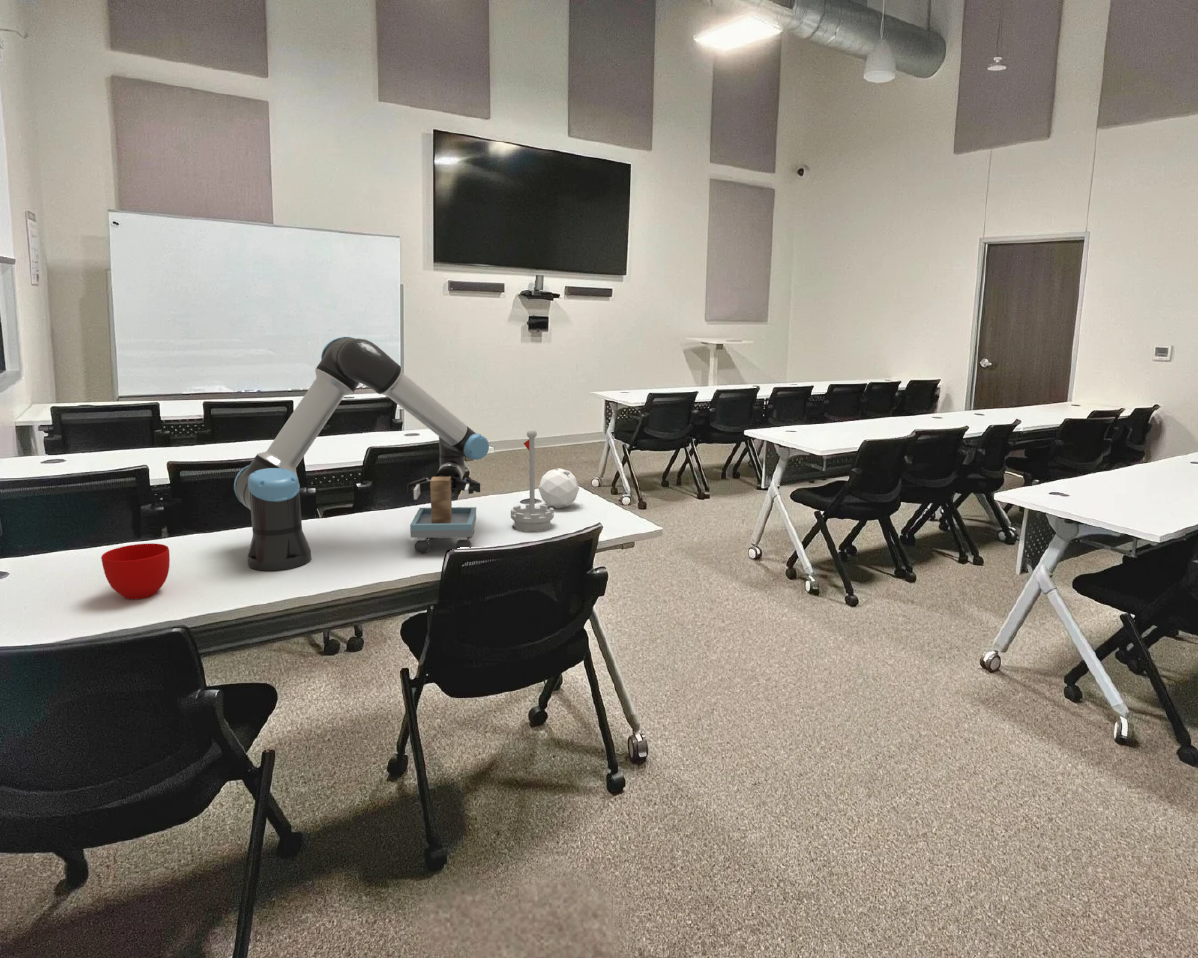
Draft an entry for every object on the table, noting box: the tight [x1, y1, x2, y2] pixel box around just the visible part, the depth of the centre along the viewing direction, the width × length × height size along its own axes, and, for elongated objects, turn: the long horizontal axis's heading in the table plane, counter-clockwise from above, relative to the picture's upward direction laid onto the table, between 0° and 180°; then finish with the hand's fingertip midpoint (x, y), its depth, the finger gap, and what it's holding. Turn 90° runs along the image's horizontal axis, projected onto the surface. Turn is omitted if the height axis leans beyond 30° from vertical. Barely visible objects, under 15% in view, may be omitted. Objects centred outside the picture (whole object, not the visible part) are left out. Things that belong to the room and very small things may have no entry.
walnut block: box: [429, 476, 453, 524], centre depth 205 cm, size 5×5×12 cm
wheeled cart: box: [409, 506, 477, 554], centre depth 207 cm, size 16×18×8 cm
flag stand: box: [510, 428, 555, 532], centre depth 224 cm, size 13×13×30 cm
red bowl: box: [100, 543, 171, 600], centre depth 169 cm, size 13×17×10 cm
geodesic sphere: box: [537, 467, 580, 509], centre depth 249 cm, size 14×14×14 cm
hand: (440, 494), depth 202 cm, fingers open, 13 cm apart
